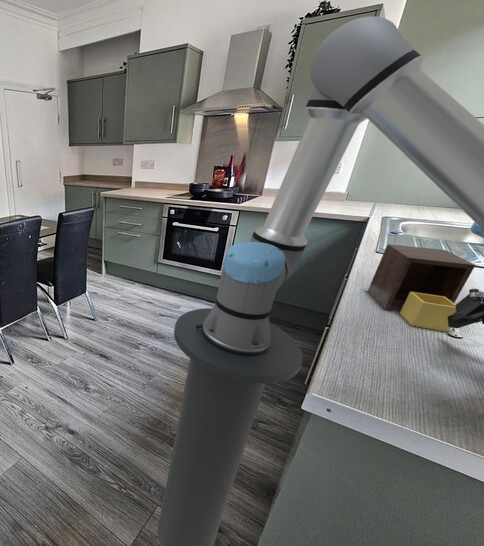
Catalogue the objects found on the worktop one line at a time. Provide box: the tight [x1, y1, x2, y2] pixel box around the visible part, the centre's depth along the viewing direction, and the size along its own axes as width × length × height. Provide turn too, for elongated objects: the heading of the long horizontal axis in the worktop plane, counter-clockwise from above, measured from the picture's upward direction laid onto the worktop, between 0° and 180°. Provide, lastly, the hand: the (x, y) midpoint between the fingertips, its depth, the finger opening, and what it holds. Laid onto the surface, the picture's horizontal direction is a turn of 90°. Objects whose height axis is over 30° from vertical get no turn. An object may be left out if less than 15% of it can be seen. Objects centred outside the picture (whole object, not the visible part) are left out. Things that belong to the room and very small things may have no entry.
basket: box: [399, 292, 457, 333], centre depth 82 cm, size 7×7×7 cm
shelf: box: [367, 243, 476, 311], centre depth 90 cm, size 13×13×16 cm
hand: (452, 322), depth 74 cm, fingers closed
